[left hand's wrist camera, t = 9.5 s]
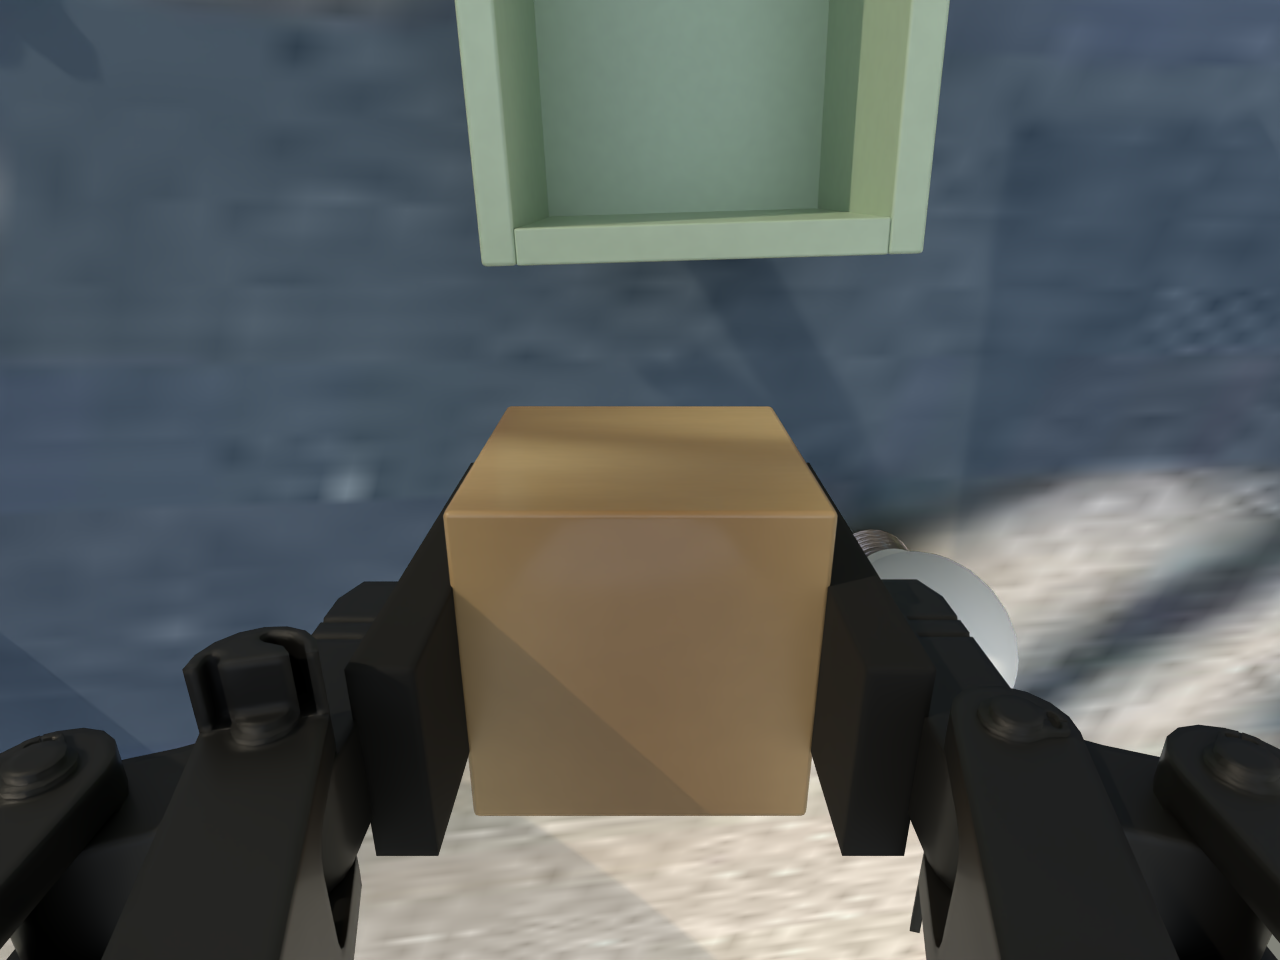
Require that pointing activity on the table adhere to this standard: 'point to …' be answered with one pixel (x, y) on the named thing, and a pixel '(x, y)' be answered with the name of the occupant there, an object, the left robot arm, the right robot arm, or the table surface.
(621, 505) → the block
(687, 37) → the box
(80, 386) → the table surface
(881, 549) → the light bulb
